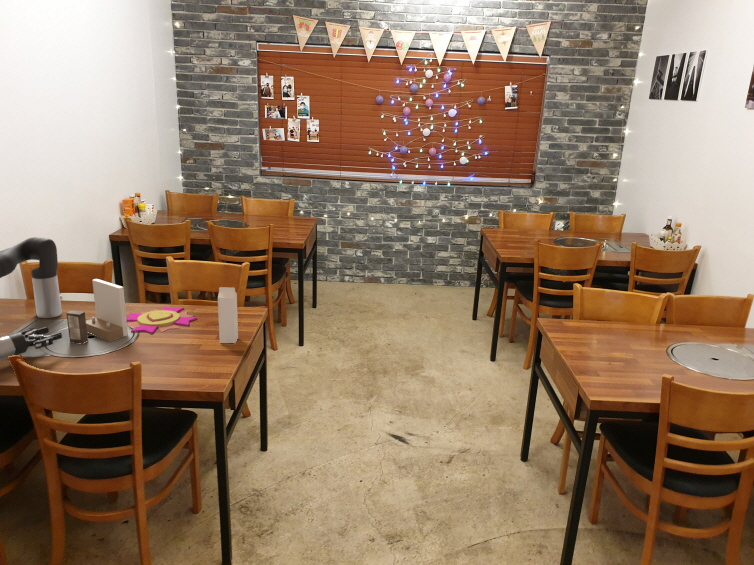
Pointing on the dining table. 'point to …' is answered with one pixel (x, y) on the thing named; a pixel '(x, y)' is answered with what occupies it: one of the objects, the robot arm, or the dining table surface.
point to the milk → (227, 315)
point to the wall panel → (108, 311)
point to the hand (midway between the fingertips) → (54, 332)
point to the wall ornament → (159, 320)
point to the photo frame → (77, 326)
